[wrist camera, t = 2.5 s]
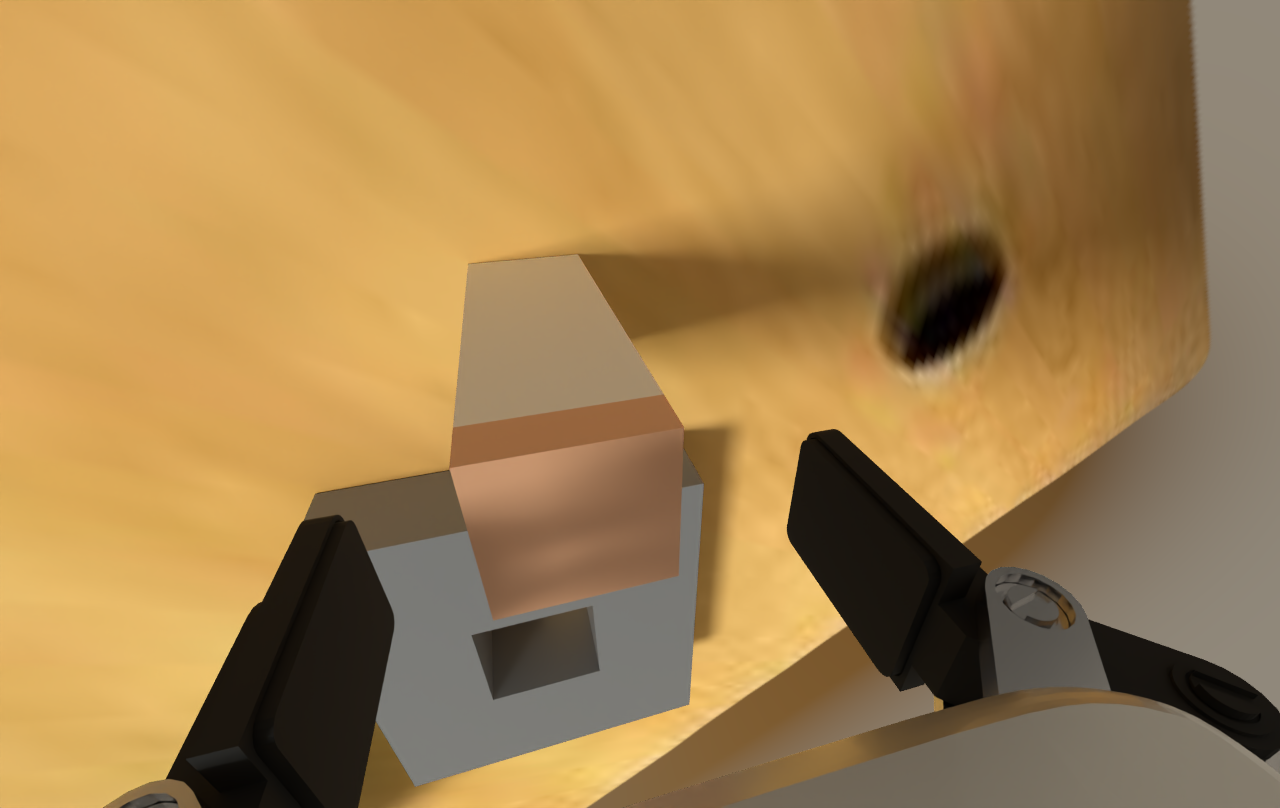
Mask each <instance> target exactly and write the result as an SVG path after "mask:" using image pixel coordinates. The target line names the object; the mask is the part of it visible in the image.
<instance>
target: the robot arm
mask: <svg viewBox="0 0 1280 808" xmlns="http://www.w3.org/2000/svg"><path fill="white" fill-rule="evenodd" d="M787 534H788V538H789V540H790V542H791V544H792V545H793V547H794V548H795V550H796V551H797V553H798V554H799V556H800V557H801V559H802V560H803V561H804V563H805V564H806V566H807V567H808V569H809V570H810V572H811V573H812V575H813V576H814V577H815V579H816V580H817V582H818V583H819V585H820V586H821V588H822V589H823V591H824V592H825V593H826V595H827V596H828V598H829V599H830V601H831V602H832V604H833V605H834V607H835V608H836V609H837V611H838V612H839V614H840V615H841V617H842V618H843V620H844V621H845V623H846V624H847V626H848V627H849V628H850V630H851V631H852V633H853V634H854V636H855V637H856V639H857V640H858V642H859V643H860V644H861V646H862V647H863V649H864V650H865V652H866V653H867V655H868V656H869V658H870V659H871V660H872V662H873V663H874V665H875V666H876V668H877V669H878V670H879V671H880V673H882V674H883V675H884V676H886V677H888V676H890V678H891V679H892V681H893V682H894V683H895V685H896V686H897V688H898V689H899V691H904V690H907V689H911V688H914V687H917V686H920V685H924V683H925V684H926V685H927V686H928V688H929V689H930V690H931V692H932V693H933V694H934V712H932V713H929V714H925V715H922V716H918V717H915V718H911V719H908V720H905V721H901V722H898V723H895V724H891V725H888V726H885V727H881V728H879V729H875V730H872V731H868V732H865V733H862V734H859V735H856V736H852V737H849V738H845V739H842V740H839V741H836V742H833V743H829V744H826V745H823V746H819V747H816V748H813V749H810V750H806V751H803V752H800V753H797V754H793V755H790V756H787V757H783V758H780V759H777V760H774V761H771V762H768V763H764V764H761V765H758V766H755V767H751V768H748V769H745V770H742V771H738V772H735V773H732V774H729V775H725V776H722V777H719V778H716V779H712V780H709V781H706V782H703V783H700V784H696V785H693V786H690V787H687V788H684V789H680V790H677V791H674V792H671V793H668V794H664V795H661V796H658V797H655V798H652V799H648V800H645V801H642V802H639V803H636V804H632V805H629V806H626V807H623V808H1280V713H1279V711H1278V710H1277V708H1276V707H1275V706H1273V704H1272V703H1271V702H1270V701H1269V700H1268V699H1267V698H1266V697H1265V696H1264V695H1263V694H1262V693H1260V692H1259V691H1258V690H1256V689H1255V688H1254V687H1252V686H1251V685H1250V684H1248V683H1247V682H1246V681H1244V680H1243V679H1241V678H1240V677H1238V676H1236V675H1234V674H1233V673H1231V672H1229V671H1228V670H1226V669H1224V668H1222V667H1219V666H1217V665H1215V664H1213V663H1210V662H1208V661H1206V660H1203V659H1200V658H1197V657H1195V656H1192V655H1189V654H1186V653H1183V652H1180V651H1177V650H1174V649H1171V648H1169V647H1166V646H1163V645H1160V644H1157V643H1154V642H1152V641H1148V640H1146V639H1143V638H1140V637H1137V636H1134V635H1132V634H1128V633H1126V632H1123V631H1120V630H1117V629H1114V628H1111V627H1109V626H1106V625H1103V624H1100V623H1097V622H1094V621H1091V620H1088V618H1087V615H1086V613H1085V611H1084V609H1083V608H1082V606H1081V604H1080V603H1079V602H1078V601H1077V600H1076V599H1075V598H1074V597H1073V596H1072V594H1071V593H1069V592H1068V591H1067V590H1066V589H1064V588H1063V587H1062V586H1060V585H1059V584H1058V583H1056V582H1054V581H1052V580H1050V579H1048V578H1047V577H1045V576H1043V575H1040V574H1038V573H1035V572H1032V571H1030V570H1026V569H1021V568H1016V567H1000V568H998V569H995V570H992V571H991V572H990V573H989V574H987V573H986V572H985V571H983V570H982V569H981V568H980V565H981V561H980V560H979V559H978V558H977V557H976V556H975V555H974V554H973V553H972V552H971V551H969V550H968V549H967V548H966V547H965V546H964V545H963V544H962V543H961V542H960V541H959V540H958V539H957V538H955V537H954V536H953V535H952V534H951V533H950V532H949V531H948V530H947V529H946V528H945V527H943V526H942V525H941V524H940V523H939V522H938V521H937V520H936V519H935V518H934V517H933V516H932V515H930V514H929V513H928V512H927V511H926V510H925V509H924V508H923V507H922V506H921V505H920V504H918V503H917V502H916V501H915V500H914V499H913V498H912V497H911V496H910V495H909V494H908V493H906V492H905V491H904V490H903V489H902V488H901V487H900V486H899V485H898V484H897V483H896V482H895V481H893V480H892V479H891V478H890V477H889V476H888V475H887V474H886V473H885V472H884V471H883V470H881V469H880V468H879V467H878V466H877V465H876V464H875V463H874V462H873V461H872V460H871V459H870V458H868V457H867V456H866V455H865V454H864V453H863V452H862V451H861V450H860V449H859V448H858V447H856V446H855V445H854V444H853V443H852V442H851V441H850V440H849V439H848V438H847V437H846V436H845V435H843V434H842V433H841V432H840V431H838V430H836V429H831V430H825V431H819V432H814V433H811V434H809V436H808V437H807V440H805V441H803V442H802V444H801V449H800V454H799V460H798V466H797V472H796V477H795V483H794V489H793V495H792V501H791V506H790V512H789V518H788V524H787ZM394 624H395V621H394V613H393V610H392V608H391V605H390V603H389V601H388V598H387V596H386V594H385V591H384V589H383V587H382V585H381V582H380V580H379V578H378V575H377V573H376V571H375V568H374V566H373V564H372V562H371V559H370V557H369V555H368V552H367V550H366V548H365V545H364V543H363V541H362V539H361V536H360V534H359V532H358V529H357V527H356V525H355V523H354V522H353V521H352V520H348V521H344V519H343V517H341V516H340V515H332V516H326V517H320V518H314V519H309V520H305V521H303V522H302V523H301V524H300V526H299V527H298V529H297V531H296V533H295V536H294V538H293V540H292V542H291V544H290V546H289V548H288V550H287V552H286V554H285V556H284V558H283V560H282V562H281V564H280V566H279V568H278V570H277V572H276V575H275V577H274V579H273V581H272V583H271V585H270V587H269V589H268V591H267V593H266V595H265V597H264V599H263V601H262V602H260V603H258V604H257V605H256V606H255V607H253V609H252V610H251V612H250V613H249V615H248V616H247V618H246V620H245V622H244V624H243V626H242V628H241V630H240V632H239V634H238V636H237V638H236V640H235V642H234V644H233V646H232V648H231V650H230V652H229V654H228V656H227V658H226V660H225V662H224V664H223V666H222V668H221V670H220V672H219V674H218V676H217V678H216V680H215V682H214V684H213V686H212V688H211V690H210V692H209V694H208V696H207V698H206V700H205V702H204V704H203V706H202V708H201V710H200V712H199V714H198V716H197V718H196V720H195V722H194V724H193V726H192V728H191V730H190V732H189V734H188V736H187V738H186V740H185V742H184V744H183V746H182V748H181V750H180V752H179V754H178V756H177V758H176V760H175V762H174V764H173V766H172V768H171V770H170V772H169V774H168V776H167V778H166V780H160V781H155V782H149V783H147V784H145V785H142V786H140V787H138V788H135V789H133V790H131V791H128V792H127V793H125V794H123V795H122V796H120V797H119V798H117V799H116V800H114V801H113V802H111V803H109V804H108V805H106V806H105V807H103V808H358V805H359V800H360V795H361V790H362V786H363V781H364V776H365V771H366V766H367V761H368V756H369V751H370V746H371V741H372V736H373V731H374V726H375V722H376V717H377V712H378V707H379V702H380V697H381V692H382V687H383V682H384V677H385V672H386V667H387V663H388V658H389V653H390V648H391V643H392V638H393V633H394Z"/></svg>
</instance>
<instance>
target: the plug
mask: <svg viewBox="0 0 1280 808" xmlns="http://www.w3.org/2000/svg"><path fill="white" fill-rule="evenodd" d="M683 443H684V427H683V425H682V423H681V422H680V420H679V418H678V417H677V415H676V414H675V412H674V410H673V409H672V407H671V405H670V404H669V402H668V401H667V399H666V397H665V396H664V394H663V392H662V391H661V389H660V387H659V386H658V384H657V383H656V381H655V379H654V378H653V376H652V374H651V373H650V371H649V370H648V368H647V366H646V365H645V363H644V361H643V360H642V358H641V356H640V355H639V353H638V352H637V350H636V348H635V347H634V345H633V343H632V342H631V340H630V339H629V337H628V335H627V334H626V332H625V330H624V329H623V327H622V326H621V324H620V322H619V321H618V319H617V317H616V316H615V314H614V312H613V311H612V309H611V308H610V306H609V304H608V303H607V301H606V299H605V298H604V296H603V295H602V293H601V291H600V290H599V288H598V286H597V285H596V283H595V281H594V280H593V278H592V277H591V275H590V273H589V272H588V270H587V268H586V267H585V265H584V264H583V262H582V260H581V259H580V257H579V255H578V254H575V255H564V256H553V257H542V258H531V259H519V260H508V261H497V262H486V263H475V264H468V270H467V281H466V292H465V303H464V314H463V325H462V336H461V347H460V358H459V368H458V379H457V390H456V401H455V412H454V423H453V434H452V445H451V456H450V467H449V469H450V472H451V476H452V479H453V483H454V486H455V490H456V493H457V497H458V500H459V503H460V507H461V510H462V514H463V517H464V521H465V524H466V528H467V531H468V535H469V538H470V542H471V545H472V549H473V552H474V556H475V559H476V563H477V566H478V569H479V573H480V576H481V580H482V583H483V587H484V590H485V594H486V597H487V601H488V604H489V608H490V611H491V615H492V618H493V621H494V620H498V619H502V618H506V617H510V616H514V615H519V614H523V613H527V612H531V611H535V610H539V609H543V608H548V607H552V606H556V605H560V604H564V603H568V602H572V601H577V600H581V599H585V598H589V597H593V596H597V595H602V594H606V593H610V592H614V591H618V590H622V589H626V588H631V587H635V586H639V585H643V584H647V583H651V582H656V581H660V580H664V579H668V578H672V577H676V576H679V556H680V528H681V500H682V471H683Z"/></svg>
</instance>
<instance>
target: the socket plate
mask: <svg viewBox="0 0 1280 808" xmlns="http://www.w3.org/2000/svg"><path fill="white" fill-rule="evenodd" d="M703 489H704V483H703V481H702V479H701V478H700V476H699V474H698V472H697V471H696V469H695V467H694V465H693V464H692V462H691V460H690V458H689V457H688V455H687V453H686V451H685V450H684V448H683V471H682V500H681V528H680V556H679V576H676V577H672V578H668V579H664V580H660V581H656V582H651V583H647V584H643V585H639V586H635V587H631V588H626V589H622V590H618V591H614V592H610V593H606V594H602V595H597V596H593V597H589V598H585V599H581V600H577V601H572V602H568V603H564V604H560V605H556V606H552V607H548V608H543V609H539V610H535V611H531V612H527V613H523V614H519V615H514V616H510V617H506V618H502V619H498V620H494V621H493V618H492V615H491V611H490V608H489V604H488V601H487V597H486V594H485V590H484V587H483V583H482V580H481V576H480V573H479V569H478V566H477V563H476V559H475V556H474V552H473V549H472V545H471V542H470V538H469V535H468V531H467V528H466V524H465V521H464V517H463V514H462V510H461V507H460V503H459V500H458V497H457V493H456V490H455V486H454V483H453V479H452V476H451V472H450V471H444V472H438V473H433V474H427V475H421V476H415V477H410V478H404V479H398V480H392V481H387V482H381V483H375V484H369V485H364V486H358V487H352V488H347V489H341V490H335V491H329V492H324V493H318V494H315V496H314V498H313V500H312V503H311V505H310V507H309V510H308V512H307V514H306V517H305V519H304V521H305V520H309V519H314V518H320V517H326V516H332V515H340V516H341V517H343V519H344V521H348V520H352V521H353V522H354V523H355V525H356V527H357V529H358V532H359V534H360V536H361V539H362V541H363V543H364V545H365V548H366V550H367V552H368V555H369V557H370V559H371V562H372V564H373V566H374V568H375V571H376V573H377V575H378V578H379V580H380V582H381V585H382V587H383V589H384V591H385V594H386V596H387V598H388V601H389V603H390V605H391V608H392V610H393V613H394V621H395V624H394V633H393V638H392V643H391V648H390V653H389V658H388V663H387V667H386V672H385V677H384V682H383V687H382V692H381V697H380V702H379V707H378V712H377V717H376V722H377V724H378V725H379V727H380V729H381V730H382V732H383V734H384V735H385V737H386V739H387V740H388V742H389V744H390V745H391V747H392V749H393V750H394V752H395V754H396V755H397V757H398V759H399V760H400V762H401V764H402V765H403V767H404V769H405V770H406V772H407V774H408V775H409V777H410V779H411V780H412V782H413V784H414V785H415V787H416V786H419V785H423V784H426V783H429V782H432V781H436V780H439V779H442V778H446V777H449V776H452V775H456V774H459V773H462V772H466V771H469V770H472V769H476V768H479V767H482V766H486V765H489V764H492V763H496V762H499V761H502V760H506V759H509V758H512V757H516V756H519V755H522V754H526V753H529V752H532V751H536V750H539V749H542V748H546V747H549V746H552V745H556V744H559V743H562V742H566V741H569V740H572V739H576V738H579V737H582V736H586V735H589V734H592V733H596V732H599V731H602V730H606V729H609V728H612V727H616V726H619V725H622V724H626V723H629V722H632V721H636V720H639V719H642V718H646V717H649V716H652V715H656V714H659V713H662V712H666V711H669V710H672V709H676V708H679V707H682V706H686V705H689V700H690V685H691V670H692V655H693V640H694V625H695V610H696V595H697V579H698V564H699V549H700V534H701V519H702V504H703ZM584 607H585V608H584Z"/></svg>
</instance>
